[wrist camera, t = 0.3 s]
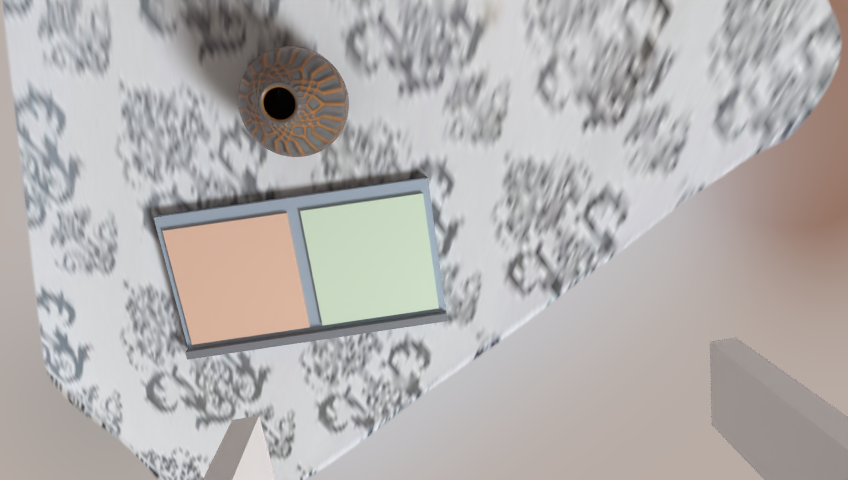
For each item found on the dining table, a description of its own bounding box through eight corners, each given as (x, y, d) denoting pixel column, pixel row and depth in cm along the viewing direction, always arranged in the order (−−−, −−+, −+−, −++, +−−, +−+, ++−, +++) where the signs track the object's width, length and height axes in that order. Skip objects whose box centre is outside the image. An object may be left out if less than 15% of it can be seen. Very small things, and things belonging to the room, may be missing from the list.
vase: (287, 168, 41) (259, 186, 32) (235, 82, 39) (191, 77, 31) (370, 122, 40) (363, 128, 32) (320, 32, 39) (299, 14, 30)
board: (158, 215, 41) (150, 219, 40) (427, 176, 42) (428, 179, 40) (193, 351, 44) (187, 359, 43) (445, 314, 44) (447, 320, 43)
